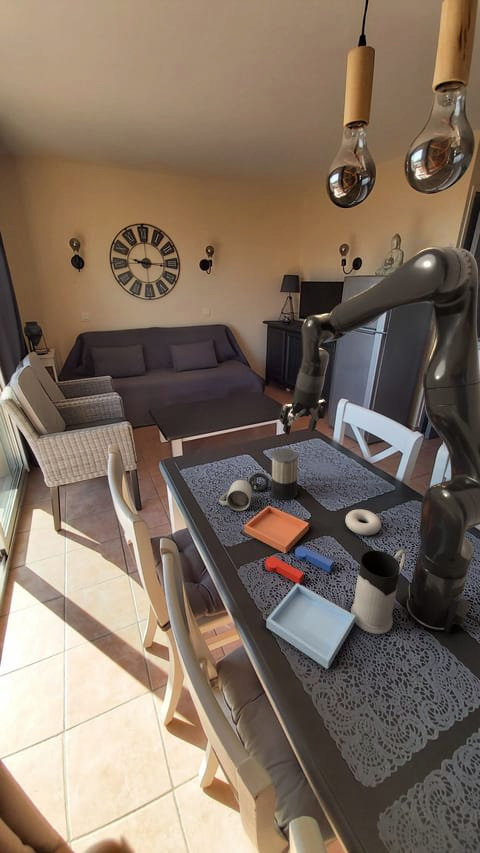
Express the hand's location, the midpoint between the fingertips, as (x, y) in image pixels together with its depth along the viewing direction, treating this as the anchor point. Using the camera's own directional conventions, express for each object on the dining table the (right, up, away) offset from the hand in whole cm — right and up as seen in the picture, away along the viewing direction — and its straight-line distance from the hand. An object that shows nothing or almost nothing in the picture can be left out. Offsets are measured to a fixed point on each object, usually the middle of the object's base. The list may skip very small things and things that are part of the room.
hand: (298, 431), depth 111 cm
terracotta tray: (-7, -29, -5) cm, 31 cm away
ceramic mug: (-19, -24, +8) cm, 32 cm away
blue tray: (-3, -41, -33) cm, 53 cm away
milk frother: (-7, -21, +15) cm, 26 cm away
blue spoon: (+1, -34, -16) cm, 38 cm away
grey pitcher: (+13, -40, -30) cm, 51 cm away
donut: (+18, -28, -4) cm, 34 cm away
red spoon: (-7, -35, -19) cm, 41 cm away
